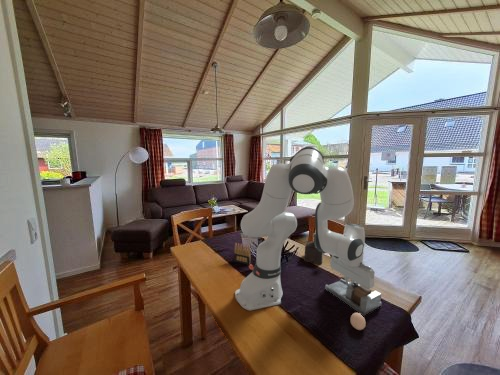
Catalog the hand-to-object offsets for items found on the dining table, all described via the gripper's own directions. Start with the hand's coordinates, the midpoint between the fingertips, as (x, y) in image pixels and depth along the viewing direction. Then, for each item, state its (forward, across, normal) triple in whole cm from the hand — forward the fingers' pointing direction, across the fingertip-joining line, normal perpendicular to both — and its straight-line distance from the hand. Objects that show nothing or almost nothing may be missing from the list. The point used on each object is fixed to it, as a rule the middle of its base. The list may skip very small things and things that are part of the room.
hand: (349, 286), depth 97 cm
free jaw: (+3, -3, 0) cm, 4 cm away
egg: (+5, -14, +14) cm, 20 cm away
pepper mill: (+5, +32, -13) cm, 34 cm away
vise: (+5, -1, 0) cm, 5 cm away
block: (+3, -6, 0) cm, 7 cm away
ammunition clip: (+5, +51, +30) cm, 59 cm away
